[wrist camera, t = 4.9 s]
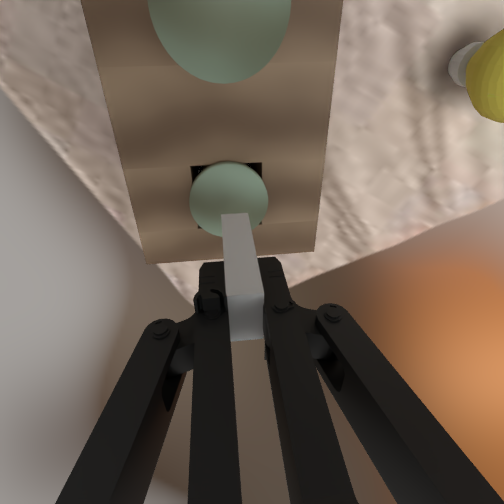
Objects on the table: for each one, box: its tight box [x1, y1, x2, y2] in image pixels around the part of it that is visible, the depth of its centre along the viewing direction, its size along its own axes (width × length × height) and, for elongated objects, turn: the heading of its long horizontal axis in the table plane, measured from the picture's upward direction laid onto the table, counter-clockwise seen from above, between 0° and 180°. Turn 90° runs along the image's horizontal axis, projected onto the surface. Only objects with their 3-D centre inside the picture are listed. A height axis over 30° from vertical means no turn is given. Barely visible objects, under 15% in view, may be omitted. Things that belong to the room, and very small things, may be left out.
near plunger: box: [147, 0, 291, 84], centre depth 16 cm, size 6×6×8 cm
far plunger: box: [189, 161, 268, 237], centre depth 26 cm, size 6×6×8 cm
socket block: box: [81, 0, 343, 264], centre depth 24 cm, size 22×14×8 cm, turn 1°
